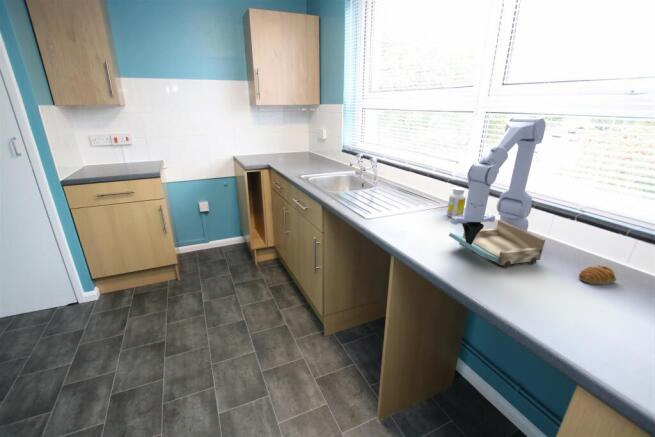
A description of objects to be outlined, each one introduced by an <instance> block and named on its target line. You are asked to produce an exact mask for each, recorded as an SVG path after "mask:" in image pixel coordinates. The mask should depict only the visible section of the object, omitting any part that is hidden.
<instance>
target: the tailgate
mask: <svg viewBox="0 0 655 437" xmlns="http://www.w3.org/2000/svg"><path fill="white" fill-rule="evenodd" d="M448 237H450V238H451V239H453V240H455V241H456V242H458V244H459V246H461V247H463V248H465V249H467V250H468V251H469V252H471V253H475V254H478V255H479V256H481V257H483V258H484V259H487V260H491V261H493V262H495V261H496V262H497V261H498V260H499V258H497V257H496V256H494V255H492V254H490V253H489V252H487V251H485V250H484V249H482V248H480V247H479V246H477V245H475V244H473V243H472V245H471V244H469V243H467V242H466V239H465V238H463V236H461V235H457V234H456V233H455V234H454V233H452V232H449V234H448ZM496 262H495V263H496Z"/></svg>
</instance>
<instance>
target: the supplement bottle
mask: <svg viewBox="0 0 655 437" xmlns="http://www.w3.org/2000/svg"><path fill="white" fill-rule="evenodd" d="M452 191H453V192H452V193H450V194H449V199H448V205H447V211H446V213H447V214H446V215H447V216H448V217H450V218H452V217H455V216H459V215H463V213H465V206H466V200H467V199H466V198H467V197H466V195H465V188H464V187H458V186H457V187H453V188H452Z"/></svg>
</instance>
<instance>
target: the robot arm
mask: <svg viewBox="0 0 655 437" xmlns="http://www.w3.org/2000/svg"><path fill="white" fill-rule="evenodd" d="M546 127H547V125H546V121H545V119H544V118H543V117H539V118H538V117H516V116H512V117H510V118H509V119H508V120H507V122H506V125H505V128H504V135H503V136H502V138H501V139H500V141H499V142H498V143H497V145H495V146H491V147H490V148H489V150H488V151H487V152H486V153H485V155H483V157H482V158H481V159H480V160H479V161H478V162H475V163H474V164H472V165H471V166H470V168H469V169H468V172H467V175H466V176H467V177H466V178H467V180H468V181H467V187H468V192H467V197H466V198H467V199H466V201H465V207H464V212H463V215H459V216H455V217H451V221H450V223H451V224H453V225H458V224H461V225H462V227H463V230H464V231H465V238H466V242H467V243H469V244H471V245H472V243H473V241H474V239H475V237H476V235H477V234H478V233H479V232H480V230H483V229H484V225H485V224H483V223H484V222H485V223H486V222H490V223H494V222H495V220H496V215H494V214H491V213H490V214H486V209H487V205H488V201H489V196H490V191H491V187H492V185H494V183H495V181H496V180H497V176H498V174H499V172H500V169H501V167H502V166H503V165H504V164H505V162H506V160H507V159H508V158H509V154H508V153H509V151H510V150H512V148H513V147H514V146H515V145H517V146H518V147H517V152H516V155H515V160H514V166H513V169H512V174H511V177H510V183H509V188H508V190H505V191H503V192H502V193H500V195H499V199H498V200H497V204H496V210H497V213H498V215H499V220H502V221H504V222H506V223H508V224H511V225H513V226H515V227H517V228H520V229H522V230H524V231H527V232H528V230H529V229H528V228H529V219H528V216H530V214H531V211H532V207H533V206H532V203H533V202H532V201H533V197H532V196H531V195H530V194H529V193H528V192H527V191H526V187H527V182H528V178H529V174H530V171H531V170H530V169H531V165H532V162H533V157H534V153H535V149H536V147H537V145H539V144H542V141H543V138H544V135H545V132H546ZM464 231H463V232H464Z"/></svg>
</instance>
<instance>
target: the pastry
mask: <svg viewBox="0 0 655 437" xmlns="http://www.w3.org/2000/svg"><path fill="white" fill-rule="evenodd" d="M578 279H579V280H581V281H583V282H585V283H588V284H590V285H600V286H604V285H609V284H610V285H611V284H613V283H615V282H616V281H617V278H616V274H615V273H614V271H613V270H612V269H611V267H608V266H606V265H605V266H604V265H599V264H598V265H595V266H588V267H586V268H584V269H582V270H581V271H580V273H579V274H578Z"/></svg>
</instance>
